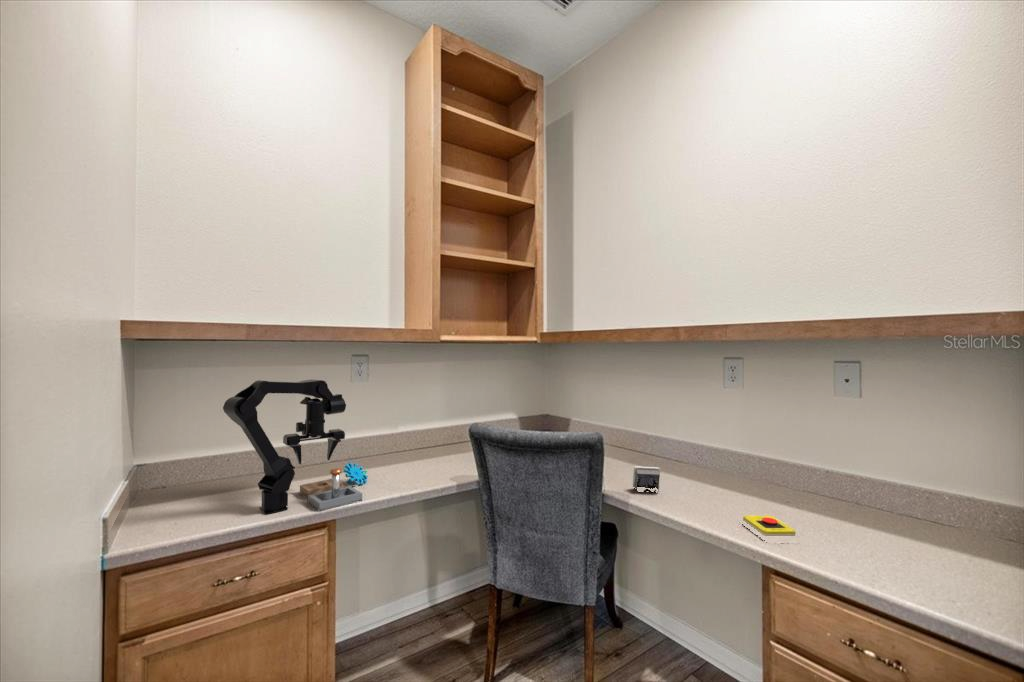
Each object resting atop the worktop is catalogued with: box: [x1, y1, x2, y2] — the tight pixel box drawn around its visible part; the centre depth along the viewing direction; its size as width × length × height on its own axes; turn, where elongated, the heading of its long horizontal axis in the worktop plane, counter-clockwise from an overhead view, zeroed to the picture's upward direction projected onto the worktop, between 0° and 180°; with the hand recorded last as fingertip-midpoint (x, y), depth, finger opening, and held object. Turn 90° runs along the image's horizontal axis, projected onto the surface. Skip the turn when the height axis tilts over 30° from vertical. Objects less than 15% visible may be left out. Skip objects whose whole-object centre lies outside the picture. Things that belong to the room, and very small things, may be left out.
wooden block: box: [299, 478, 344, 500], centre depth 155 cm, size 12×8×3 cm, turn 134°
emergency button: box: [742, 515, 797, 536], centre depth 126 cm, size 9×4×15 cm
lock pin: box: [330, 467, 342, 499], centre depth 146 cm, size 3×3×10 cm
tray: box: [307, 485, 363, 512], centre depth 146 cm, size 14×10×2 cm
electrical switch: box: [632, 465, 661, 491], centre depth 159 cm, size 9×5×9 cm, turn 83°
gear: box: [343, 462, 369, 486], centre depth 166 cm, size 11×6×10 cm
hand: (314, 462), depth 151 cm, fingers open, 9 cm apart
